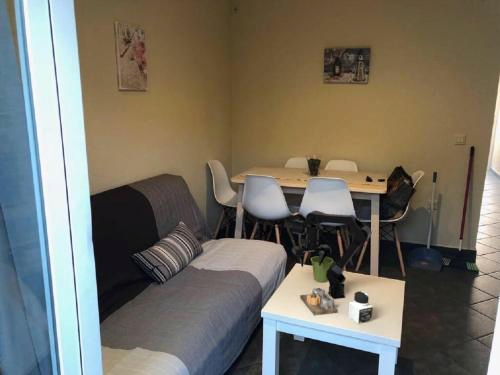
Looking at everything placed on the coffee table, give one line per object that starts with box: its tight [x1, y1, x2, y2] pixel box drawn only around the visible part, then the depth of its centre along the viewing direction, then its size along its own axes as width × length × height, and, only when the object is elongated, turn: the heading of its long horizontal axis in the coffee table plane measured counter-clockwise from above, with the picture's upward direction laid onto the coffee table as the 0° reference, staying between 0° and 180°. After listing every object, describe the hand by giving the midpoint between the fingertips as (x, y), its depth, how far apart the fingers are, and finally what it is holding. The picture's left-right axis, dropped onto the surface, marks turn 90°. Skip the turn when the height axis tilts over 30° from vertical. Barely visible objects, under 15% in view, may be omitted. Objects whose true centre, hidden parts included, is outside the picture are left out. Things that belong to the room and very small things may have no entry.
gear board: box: [299, 287, 338, 316], centre depth 188 cm, size 11×17×6 cm, turn 14°
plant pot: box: [310, 256, 334, 283], centre depth 216 cm, size 12×12×11 cm
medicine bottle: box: [348, 290, 373, 325], centre depth 176 cm, size 7×7×12 cm
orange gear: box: [306, 292, 320, 305], centre depth 188 cm, size 6×6×3 cm
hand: (310, 266), depth 204 cm, fingers open, 9 cm apart
